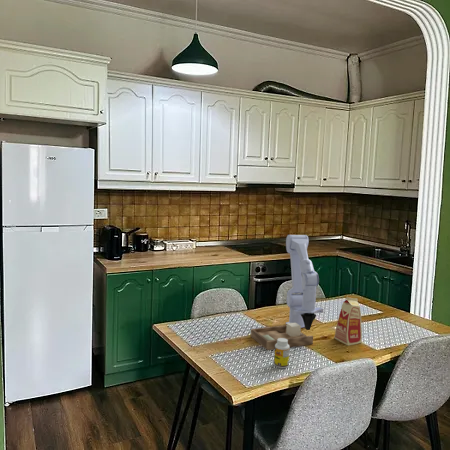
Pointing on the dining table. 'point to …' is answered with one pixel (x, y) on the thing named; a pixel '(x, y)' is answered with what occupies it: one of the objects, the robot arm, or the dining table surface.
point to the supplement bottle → (281, 353)
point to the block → (293, 329)
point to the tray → (271, 334)
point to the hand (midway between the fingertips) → (307, 329)
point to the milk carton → (349, 323)
